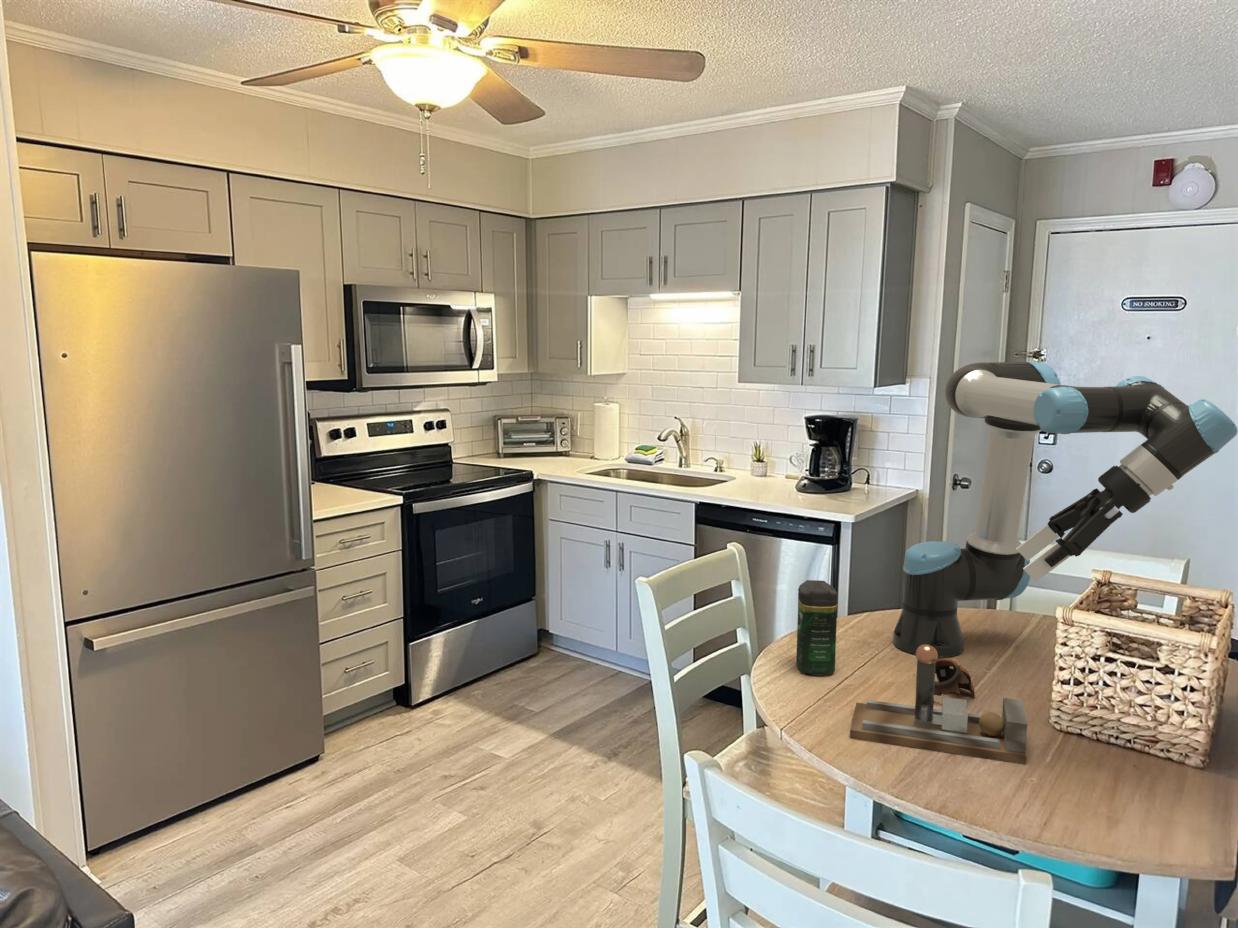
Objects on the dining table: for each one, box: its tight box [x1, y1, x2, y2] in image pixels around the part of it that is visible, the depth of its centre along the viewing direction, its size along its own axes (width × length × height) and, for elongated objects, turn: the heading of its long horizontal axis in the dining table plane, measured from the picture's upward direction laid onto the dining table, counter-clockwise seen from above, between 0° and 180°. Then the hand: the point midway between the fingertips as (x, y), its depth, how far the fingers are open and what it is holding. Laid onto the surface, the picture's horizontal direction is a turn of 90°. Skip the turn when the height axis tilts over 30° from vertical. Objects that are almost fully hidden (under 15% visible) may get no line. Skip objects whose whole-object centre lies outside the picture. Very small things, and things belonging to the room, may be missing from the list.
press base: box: [849, 697, 1028, 765], centre depth 150 cm, size 28×12×6 cm, turn 70°
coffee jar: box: [795, 579, 838, 676], centre depth 180 cm, size 10×8×19 cm
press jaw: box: [914, 644, 969, 735], centre depth 149 cm, size 9×7×15 cm
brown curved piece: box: [934, 656, 976, 699], centre depth 168 cm, size 12×10×8 cm
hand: (1025, 564), depth 143 cm, fingers open, 13 cm apart
